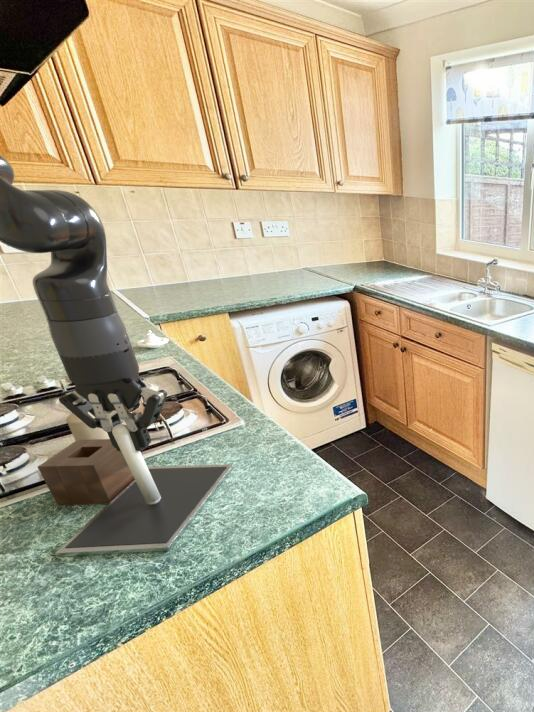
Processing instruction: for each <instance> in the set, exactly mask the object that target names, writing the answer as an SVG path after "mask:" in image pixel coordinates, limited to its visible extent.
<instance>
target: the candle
mask: <svg viewBox="0 0 534 712" xmlns="http://www.w3.org/2000/svg"><path fill="white" fill-rule="evenodd" d="M88 414H89V415H90V416H91V417H93V418H96V417H94V416H93V415H92V414H91V413H90V412H88ZM65 420H66V423H67V425H68V427H69V429H70V432H71V434H72V436H73V438H74V442H75V441H76V440H93V439H110V438H109V436H108V433H107V432H105V431H104V430H103V429H102V428H98V427H96V428H94V429H92V428H90V427H88V426H87V425H86V424H85V423H84V422H83V421H81V420H80V419H79V418H78V417H77V416H76V415H74V414H73V413H72V412H71V413H70V414H69V415H67V417H66V418H65Z"/></svg>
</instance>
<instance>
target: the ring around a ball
mask: <svg viewBox="0 0 534 712" xmlns="http://www.w3.org/2000/svg"><path fill="white" fill-rule="evenodd" d="M168 342H169V338H167V337H162V336H157V335H155V333H153V332H152V330H147V333H146V336H145V338H143V339H140V340H138V341H137V342H136V346H138V347H140V348H148V349H157V348H160V347H161V346H163V345H166V344H167V343H168Z"/></svg>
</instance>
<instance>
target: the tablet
mask: <svg viewBox="0 0 534 712" xmlns="http://www.w3.org/2000/svg"><path fill="white" fill-rule="evenodd" d="M147 467H148V470H149V472H150V474H151V476H152V478H153V480H154V483H155V485H156V487H157V489H158V491H159V493H160V496H161V499H160V501H159V502H158V503H156V504H152V505H151V504H148V503H146V501H145V499H144V497H143V495H142V493H141V491H140V489H139V487H138V485H137V483H136V481H135V480H134V481H133V482H132V483H130V484H129V485H128V486H127V487H126V488H125V489H124V490H123V491H122V492H121V493H120V494H118V495H117V496H116V497H115V498H114V499H113V500H112V501H111V502H110V503H109V504H106V505H105V506H104V507H103V508H102V509H101V510H100V511H99V512H98V513H96V515H95V516H93V517H92V518H91V519H90V520H89V521H88V522H86V524H85V525H84V526H82V527H81V528H80V529H79V530H78V531H77V532H76V533H75V534H74V535H73V536H72V537H70V538H69V539H68V540H67V541H66V542H65V543H64V544H63V545H62V546H60V548H59V549H58V550H56V551H55V552H54V554H55V556H56V557H57V558H59V557H60V558H61V557H79V556H98V555H115V554H134V553H135V554H137V553H153V552H154V553H155V552H170V551H171V550H172V548H173V547H174V546H175V545H176V544H177V542H178V541H179V539H180V538H181V537H182V536H183V534H184V533H185V532H186V531H187V530H188V528H189V527H190V525H191V524H192V523H193V521H194V520H195V519H196V518H197V517H198V515H200V513H201V511H202V510H203V508H205V506H206V505H207V504H208V502H209V501H210V500H211V498H212V497H213V496H214V494H215V493H216V492H217V491H218V489H219V488H220V487H221V486H222V484H223V483H224V482H225V481H226V479H227V478H228V476H229V475H230V474H231V472H232V471H233V470H234V469H235V465H234V464H233V463H231V464H195V465H194V464H192V465H191V464H190V465H156V466H147Z"/></svg>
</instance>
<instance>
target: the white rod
mask: <svg viewBox="0 0 534 712" xmlns="http://www.w3.org/2000/svg"><path fill="white" fill-rule="evenodd" d="M129 432H130V430H129V429H128V427H127V425H126V423H124V424H123V423H122V424H118V425H116V426H114V427H113V429H112V433H113V435H114V438H115V440H116V442H117V444H118V446H119V448H120V450H121V452H122V454H123V456H124V458H125V460H126V462H127V464H128V466H129V468H130V470H131V472H132V474H133V476H134V478H135V481H136V483H137V485H138V487H139V489H140V491H141V493H142V495H143V497H144V499H145V501H146V503H148V504H151V505H152V504H156V503H158V502H159V501H160V499H161V496H160V493H159V491H158V489H157V487H156V485H155V483H154V480H153V478H152V476H151V474H150V472H149V470H148V467H149V466H147V463H146V461H145V459H144V456H143V455H142V451H136V450H135V447H134V444H133V442H132V439H131V436H130V434H129Z"/></svg>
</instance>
